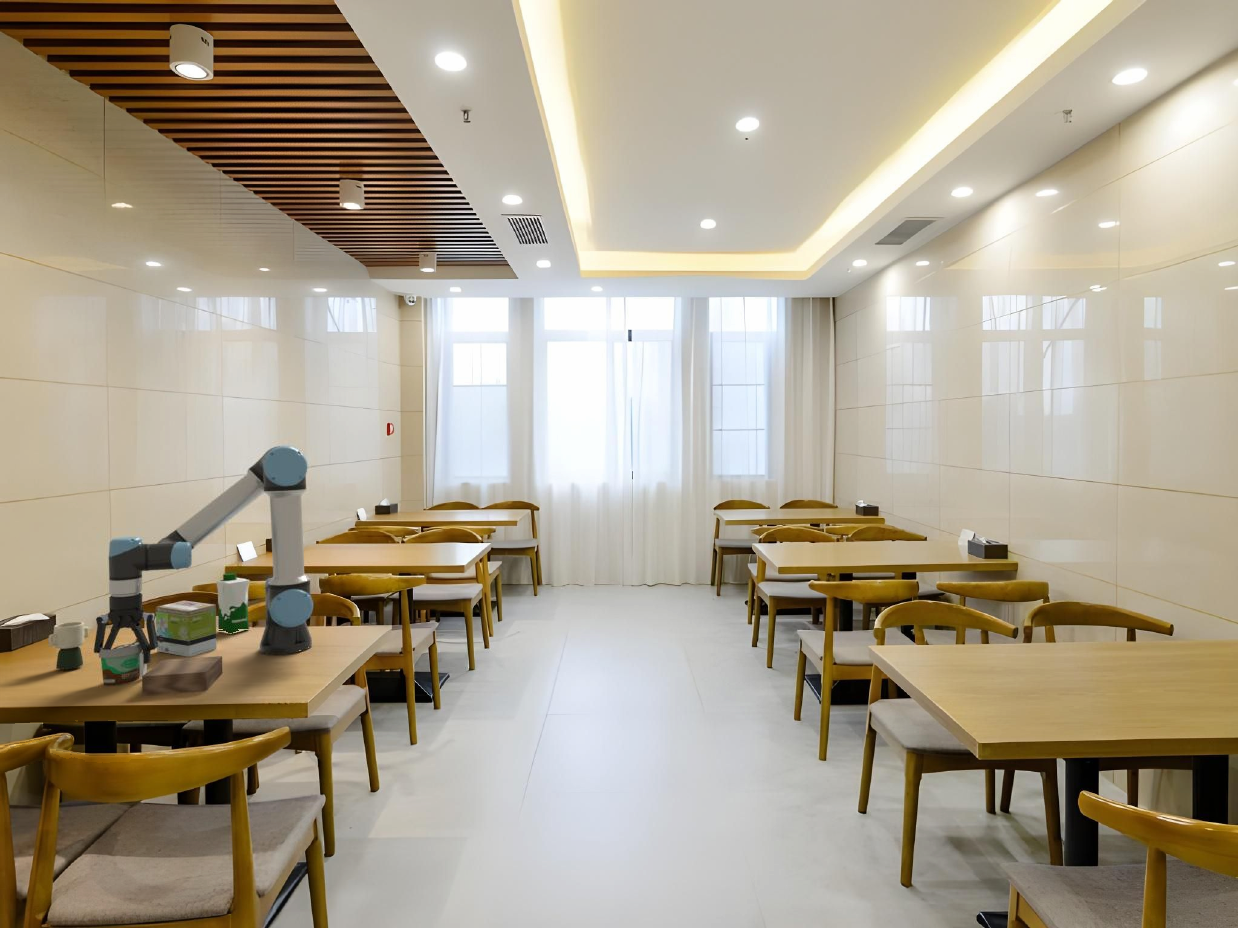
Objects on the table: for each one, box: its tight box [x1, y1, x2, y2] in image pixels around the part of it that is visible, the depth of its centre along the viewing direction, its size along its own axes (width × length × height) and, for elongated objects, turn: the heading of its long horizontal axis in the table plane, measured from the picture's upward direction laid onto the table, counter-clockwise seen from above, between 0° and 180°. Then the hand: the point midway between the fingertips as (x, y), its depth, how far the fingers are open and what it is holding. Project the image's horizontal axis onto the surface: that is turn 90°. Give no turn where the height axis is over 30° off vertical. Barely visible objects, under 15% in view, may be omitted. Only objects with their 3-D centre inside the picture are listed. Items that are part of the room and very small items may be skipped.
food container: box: [98, 638, 143, 687], centre depth 200 cm, size 12×6×10 cm, turn 169°
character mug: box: [48, 621, 90, 671], centre depth 211 cm, size 11×7×13 cm, turn 161°
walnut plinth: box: [141, 655, 223, 696], centre depth 197 cm, size 15×15×5 cm
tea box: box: [155, 600, 217, 658], centre depth 229 cm, size 15×10×15 cm
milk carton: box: [215, 572, 251, 633], centre depth 254 cm, size 9×9×20 cm
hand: (126, 676), depth 200 cm, fingers closed on food container, 7 cm apart
